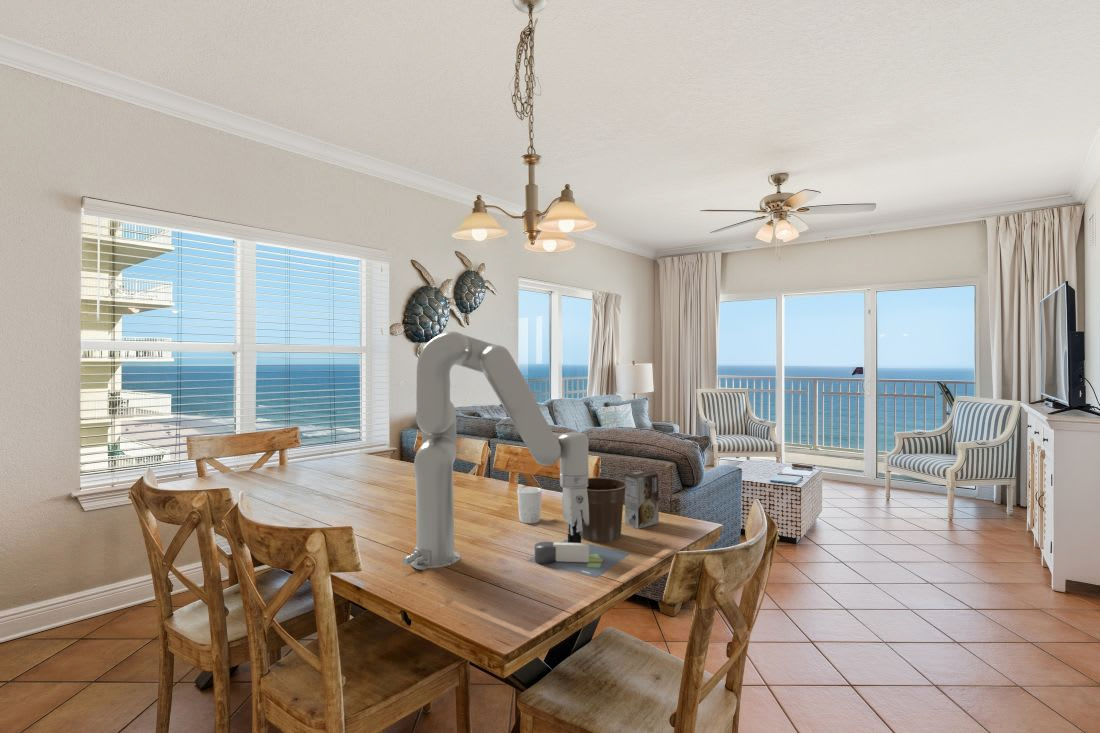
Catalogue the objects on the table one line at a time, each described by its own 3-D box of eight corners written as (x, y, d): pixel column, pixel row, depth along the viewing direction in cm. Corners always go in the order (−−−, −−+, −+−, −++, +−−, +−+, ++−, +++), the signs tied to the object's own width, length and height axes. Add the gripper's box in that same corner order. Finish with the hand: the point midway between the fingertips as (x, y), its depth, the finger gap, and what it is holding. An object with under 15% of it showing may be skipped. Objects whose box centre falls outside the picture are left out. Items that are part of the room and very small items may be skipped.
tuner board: (596, 581, 128) (596, 577, 128) (527, 564, 139) (527, 560, 139) (630, 556, 144) (630, 552, 144) (566, 542, 155) (566, 538, 155)
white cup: (543, 517, 180) (543, 487, 180) (540, 524, 172) (540, 493, 172) (519, 516, 181) (519, 486, 181) (515, 523, 173) (515, 492, 173)
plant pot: (559, 537, 160) (559, 482, 160) (598, 525, 170) (598, 474, 170) (599, 552, 148) (599, 493, 147) (638, 539, 158) (638, 483, 158)
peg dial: (533, 563, 137) (533, 546, 137) (536, 554, 142) (536, 539, 142) (602, 565, 135) (602, 549, 135) (602, 557, 140) (602, 541, 140)
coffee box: (644, 518, 177) (644, 469, 177) (659, 523, 172) (659, 473, 172) (623, 524, 172) (623, 473, 172) (638, 529, 167) (638, 476, 167)
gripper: (596, 485, 137) (597, 558, 137) (579, 473, 152) (579, 538, 152) (568, 487, 135) (568, 560, 136) (553, 474, 150) (553, 540, 150)
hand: (574, 548), depth 144 cm, fingers closed
